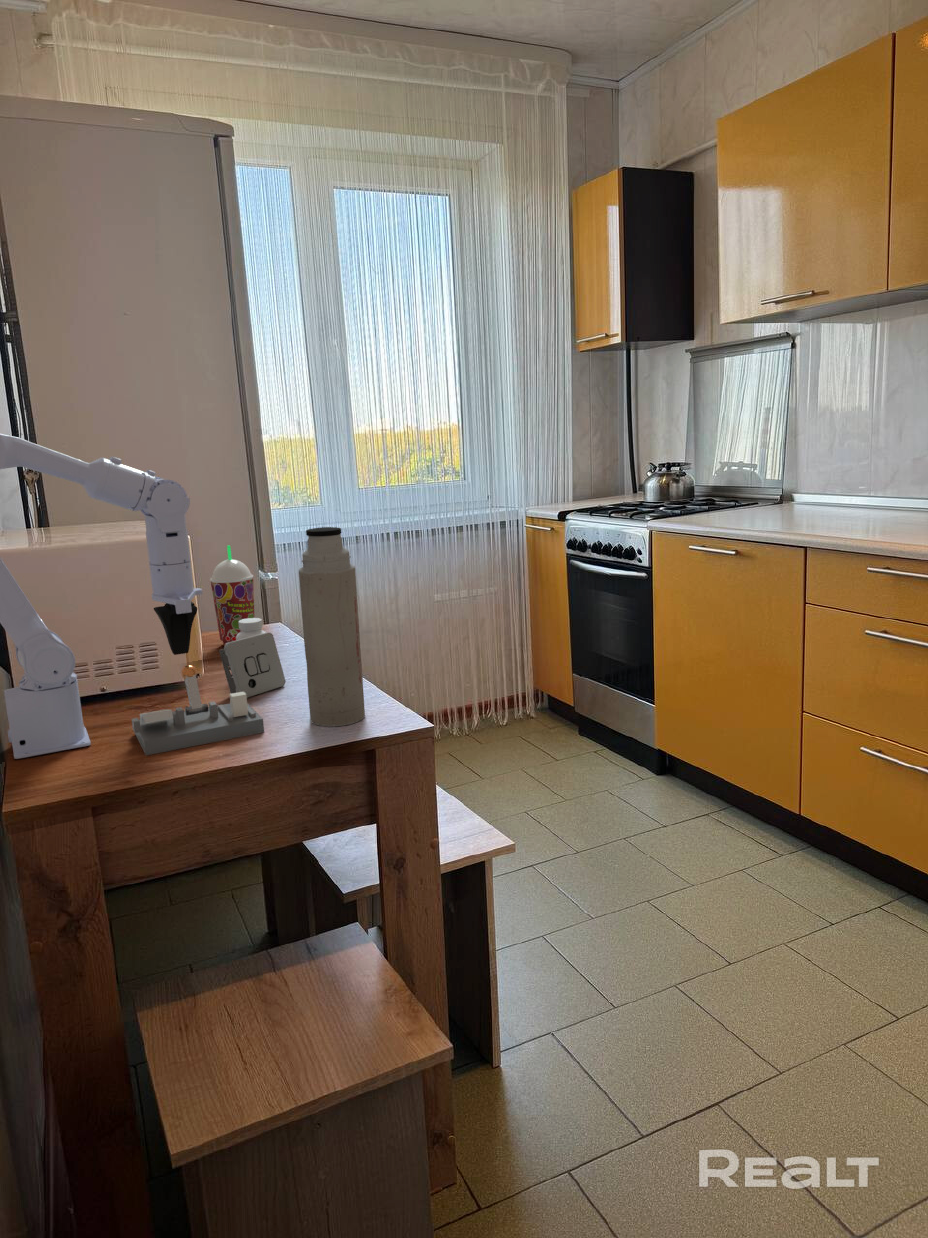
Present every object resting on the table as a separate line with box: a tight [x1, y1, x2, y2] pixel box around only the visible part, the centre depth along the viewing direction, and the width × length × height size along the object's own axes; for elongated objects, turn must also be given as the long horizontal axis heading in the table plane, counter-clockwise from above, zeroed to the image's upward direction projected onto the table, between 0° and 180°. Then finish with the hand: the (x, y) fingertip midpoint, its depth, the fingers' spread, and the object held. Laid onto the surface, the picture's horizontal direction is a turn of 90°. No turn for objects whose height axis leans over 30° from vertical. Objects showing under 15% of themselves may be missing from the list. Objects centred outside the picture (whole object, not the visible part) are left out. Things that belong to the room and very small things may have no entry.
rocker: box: [139, 709, 173, 723], centre depth 121 cm, size 4×6×1 cm, turn 28°
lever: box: [180, 664, 209, 716], centre depth 124 cm, size 3×2×7 cm
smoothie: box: [209, 545, 256, 646], centre depth 173 cm, size 8×8×20 cm
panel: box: [131, 701, 265, 756], centre depth 123 cm, size 17×10×4 cm, turn 118°
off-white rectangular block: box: [229, 692, 248, 717], centre depth 124 cm, size 2×2×3 cm
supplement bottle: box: [236, 617, 267, 640], centre depth 152 cm, size 5×5×10 cm
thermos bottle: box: [298, 526, 366, 728], centre depth 125 cm, size 8×8×28 cm
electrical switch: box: [218, 631, 287, 699], centre depth 143 cm, size 9×5×9 cm, turn 141°
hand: (180, 653), depth 129 cm, fingers closed
